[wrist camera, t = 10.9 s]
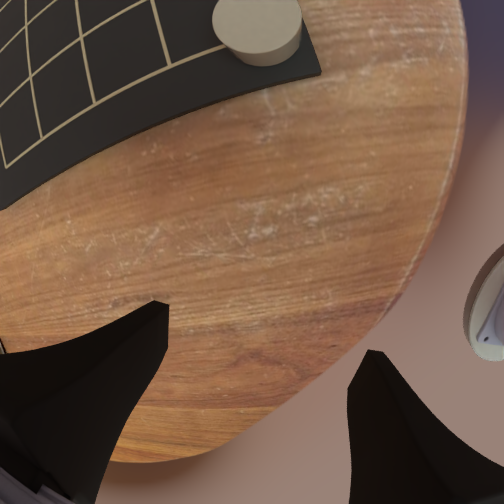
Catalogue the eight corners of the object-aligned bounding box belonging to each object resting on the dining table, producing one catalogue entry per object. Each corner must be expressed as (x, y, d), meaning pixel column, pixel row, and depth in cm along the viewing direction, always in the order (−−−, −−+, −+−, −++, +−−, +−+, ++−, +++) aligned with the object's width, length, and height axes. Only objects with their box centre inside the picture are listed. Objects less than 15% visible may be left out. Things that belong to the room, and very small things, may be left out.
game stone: (307, 8, 13) (307, -13, 10) (295, 72, 15) (294, 60, 12) (233, 0, 13) (221, -21, 11) (219, 62, 15) (203, 49, 12)
